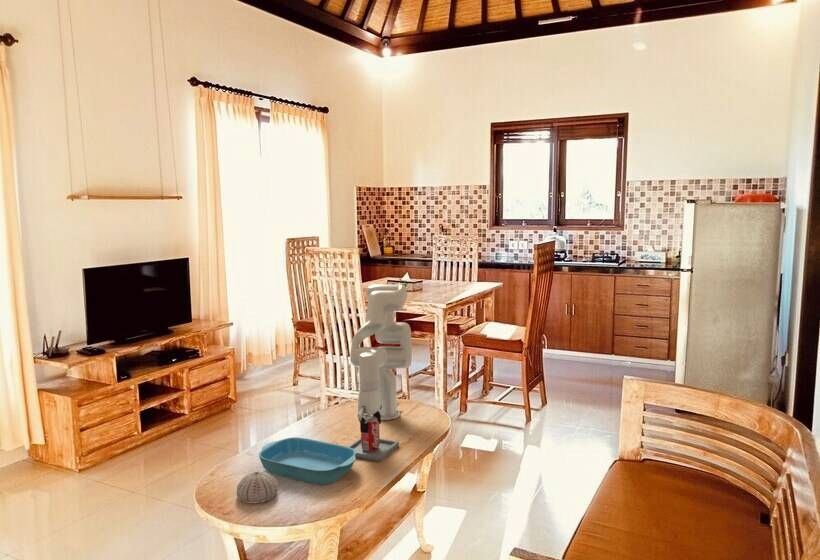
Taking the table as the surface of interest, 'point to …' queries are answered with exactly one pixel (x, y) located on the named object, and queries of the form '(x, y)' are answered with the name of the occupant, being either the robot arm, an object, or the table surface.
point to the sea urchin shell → (257, 487)
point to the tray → (380, 453)
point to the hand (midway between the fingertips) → (370, 427)
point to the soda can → (371, 435)
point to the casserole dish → (307, 460)
